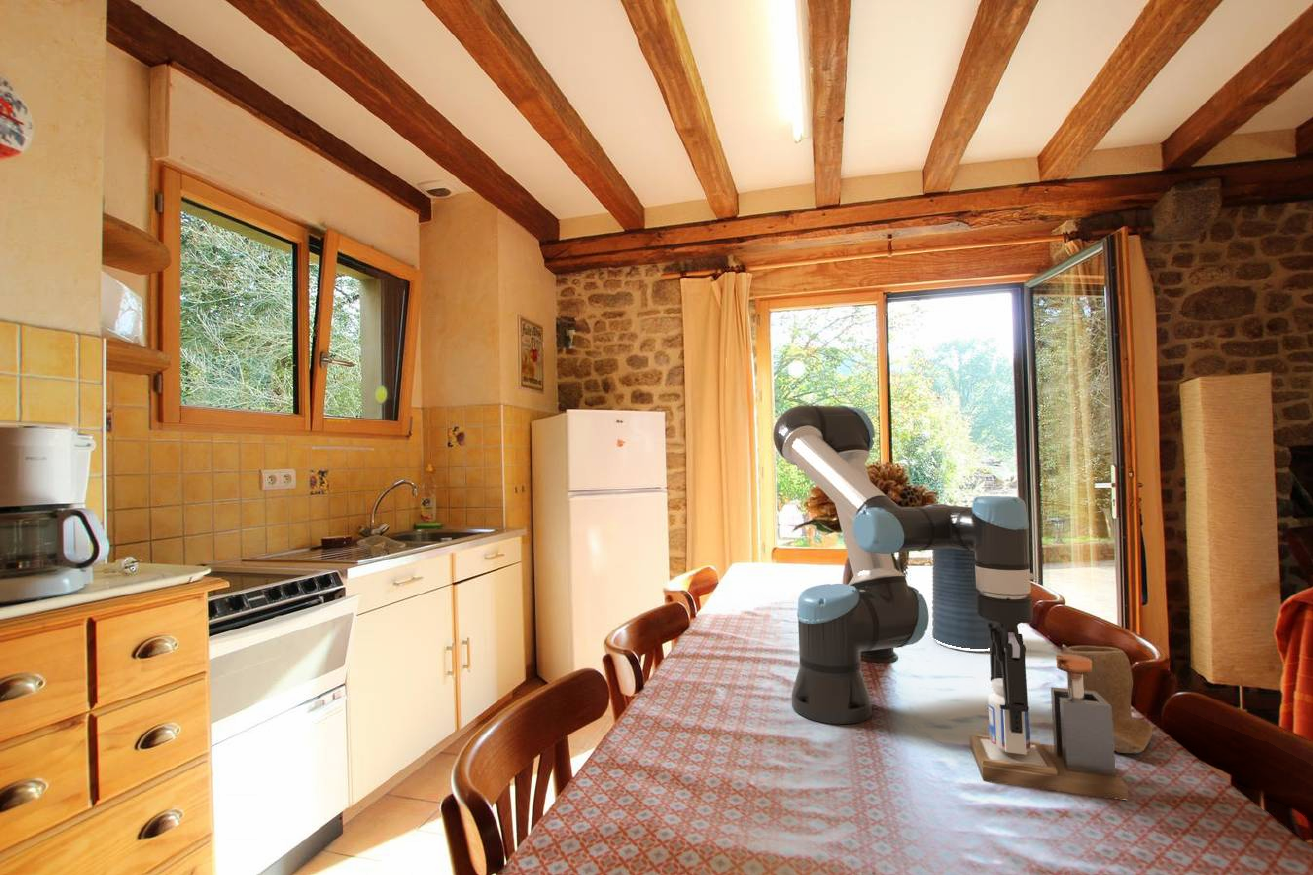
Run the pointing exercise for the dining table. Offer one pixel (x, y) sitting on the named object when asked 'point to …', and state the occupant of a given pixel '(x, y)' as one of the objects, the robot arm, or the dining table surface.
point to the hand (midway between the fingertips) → (1010, 742)
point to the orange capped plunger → (1074, 673)
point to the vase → (957, 601)
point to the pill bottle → (1001, 716)
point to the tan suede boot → (1115, 694)
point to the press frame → (1083, 732)
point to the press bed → (1040, 770)
